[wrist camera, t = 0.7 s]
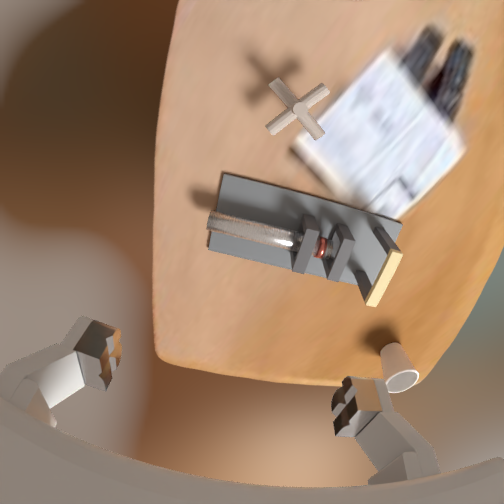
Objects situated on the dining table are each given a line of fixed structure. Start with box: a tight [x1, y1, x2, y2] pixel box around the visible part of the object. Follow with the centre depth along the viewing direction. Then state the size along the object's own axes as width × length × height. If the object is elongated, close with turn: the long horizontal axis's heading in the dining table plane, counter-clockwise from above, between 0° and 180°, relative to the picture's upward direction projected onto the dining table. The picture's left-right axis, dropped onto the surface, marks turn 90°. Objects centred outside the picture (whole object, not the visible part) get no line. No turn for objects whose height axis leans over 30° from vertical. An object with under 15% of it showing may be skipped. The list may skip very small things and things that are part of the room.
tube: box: [207, 210, 333, 259], centre depth 48 cm, size 4×20×4 cm, turn 76°
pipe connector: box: [265, 77, 330, 140], centre depth 38 cm, size 10×10×10 cm
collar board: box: [208, 173, 403, 307], centre depth 48 cm, size 14×32×10 cm, turn 76°
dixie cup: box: [380, 343, 419, 393], centre depth 60 cm, size 8×8×10 cm
